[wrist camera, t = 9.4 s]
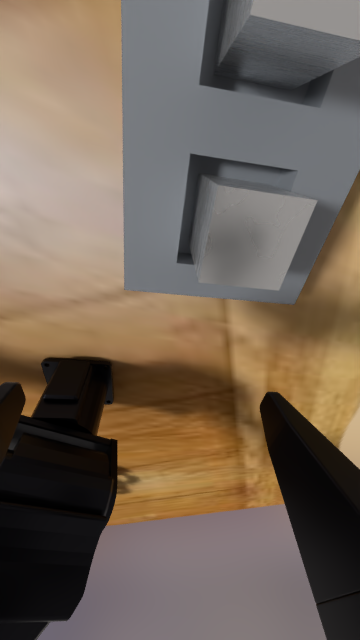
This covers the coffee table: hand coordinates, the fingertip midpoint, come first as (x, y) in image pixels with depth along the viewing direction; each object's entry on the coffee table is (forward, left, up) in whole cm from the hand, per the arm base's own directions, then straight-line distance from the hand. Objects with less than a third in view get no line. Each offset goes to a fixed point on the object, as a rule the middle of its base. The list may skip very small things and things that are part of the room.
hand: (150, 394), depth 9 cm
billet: (+5, -4, -10) cm, 12 cm away
